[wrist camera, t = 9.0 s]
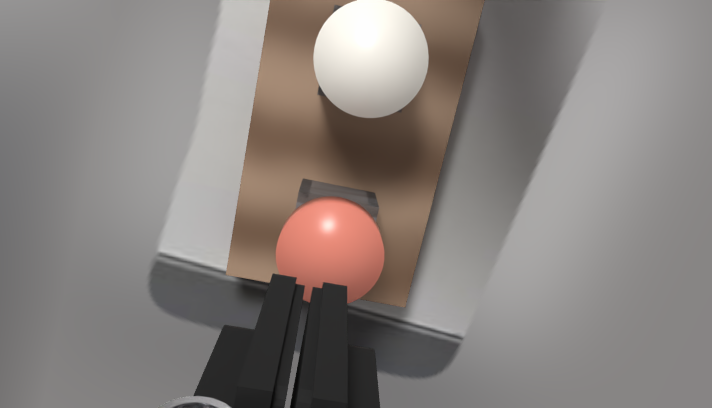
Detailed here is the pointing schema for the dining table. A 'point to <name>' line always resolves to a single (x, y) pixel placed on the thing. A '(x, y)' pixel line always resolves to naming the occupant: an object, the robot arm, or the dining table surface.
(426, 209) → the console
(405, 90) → the cream button
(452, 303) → the dining table surface
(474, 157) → the dining table surface
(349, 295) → the red button
